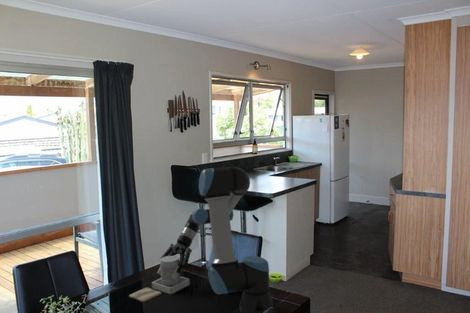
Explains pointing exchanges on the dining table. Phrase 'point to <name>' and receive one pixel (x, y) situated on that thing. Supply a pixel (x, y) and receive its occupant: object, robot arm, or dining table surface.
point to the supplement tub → (169, 271)
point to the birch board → (145, 294)
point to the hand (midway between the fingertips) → (166, 276)
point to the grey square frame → (182, 284)
